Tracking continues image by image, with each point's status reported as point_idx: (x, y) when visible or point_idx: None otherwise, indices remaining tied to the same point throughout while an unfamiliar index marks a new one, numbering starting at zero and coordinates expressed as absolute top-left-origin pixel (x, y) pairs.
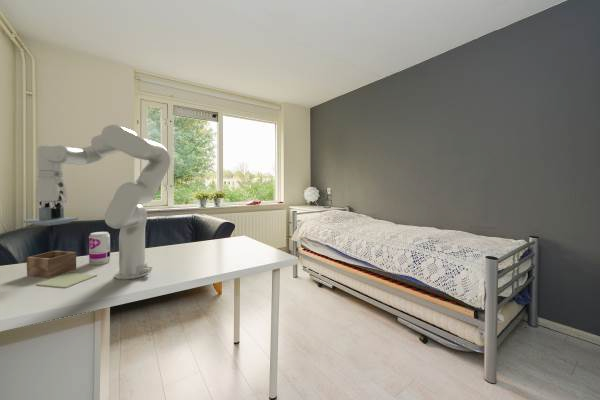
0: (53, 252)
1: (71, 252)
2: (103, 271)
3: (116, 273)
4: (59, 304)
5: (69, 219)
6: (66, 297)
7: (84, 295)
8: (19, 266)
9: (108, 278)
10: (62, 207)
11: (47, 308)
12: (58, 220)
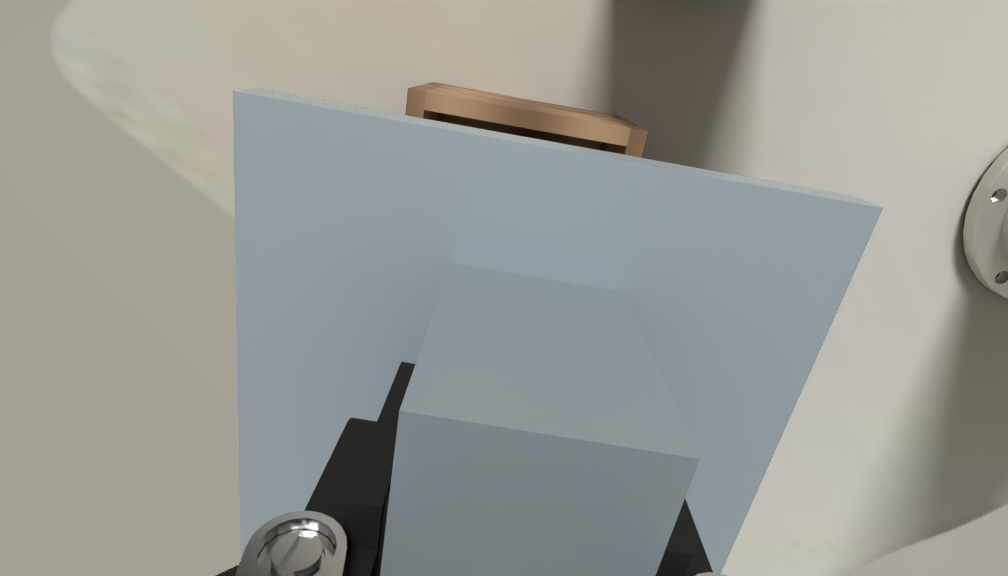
0: (423, 117)
1: (612, 143)
2: (838, 150)
3: (981, 246)
4: (845, 544)
5: (802, 374)
6: (834, 494)
7: (902, 477)
8: (148, 65)
9: (929, 278)
10: (684, 476)
11: (821, 568)
12: (735, 537)
